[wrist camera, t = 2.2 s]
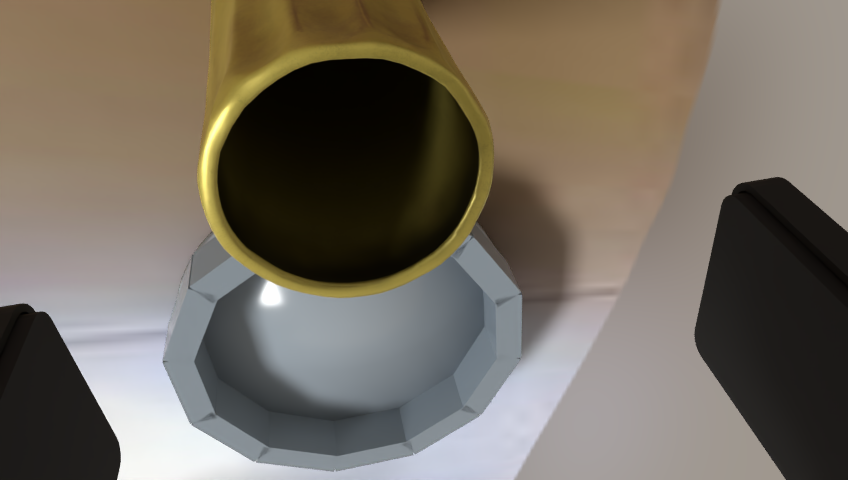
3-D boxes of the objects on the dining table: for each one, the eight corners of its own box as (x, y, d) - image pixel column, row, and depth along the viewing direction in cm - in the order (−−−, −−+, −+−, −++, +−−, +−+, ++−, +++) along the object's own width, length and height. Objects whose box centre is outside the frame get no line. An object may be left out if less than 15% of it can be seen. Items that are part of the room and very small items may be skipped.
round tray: (126, 210, 27) (114, 255, 25) (502, 147, 29) (523, 184, 27) (224, 446, 37) (222, 495, 34) (504, 388, 38) (520, 432, 36)
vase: (398, -137, 22) (544, 7, 11) (395, 49, 26) (502, 302, 14) (199, -140, 21) (130, 16, 10) (226, 55, 25) (197, 333, 13)
